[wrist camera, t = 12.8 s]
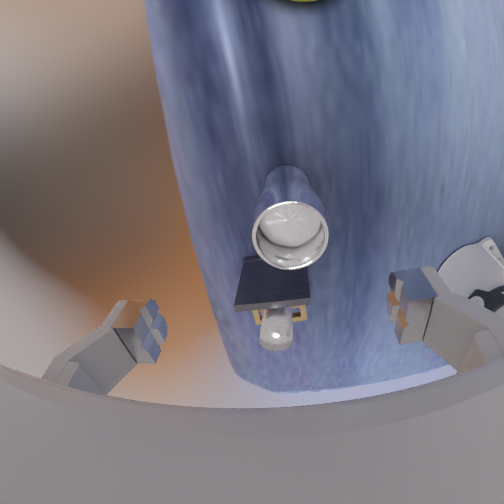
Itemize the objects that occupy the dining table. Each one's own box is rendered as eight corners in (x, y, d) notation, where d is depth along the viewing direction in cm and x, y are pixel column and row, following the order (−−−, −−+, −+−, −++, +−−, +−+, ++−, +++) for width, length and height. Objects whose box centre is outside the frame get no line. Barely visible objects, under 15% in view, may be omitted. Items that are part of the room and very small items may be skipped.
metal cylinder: (296, 277, 42) (298, 335, 32) (284, 296, 44) (283, 354, 34) (271, 268, 42) (267, 325, 32) (261, 287, 44) (254, 345, 34)
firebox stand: (309, 298, 45) (314, 348, 36) (255, 303, 47) (249, 353, 38) (303, 249, 41) (309, 297, 32) (244, 257, 43) (233, 304, 33)
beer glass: (277, 219, 39) (274, 283, 26) (251, 177, 36) (233, 223, 23) (321, 196, 37) (343, 252, 24) (297, 152, 34) (308, 183, 21)
